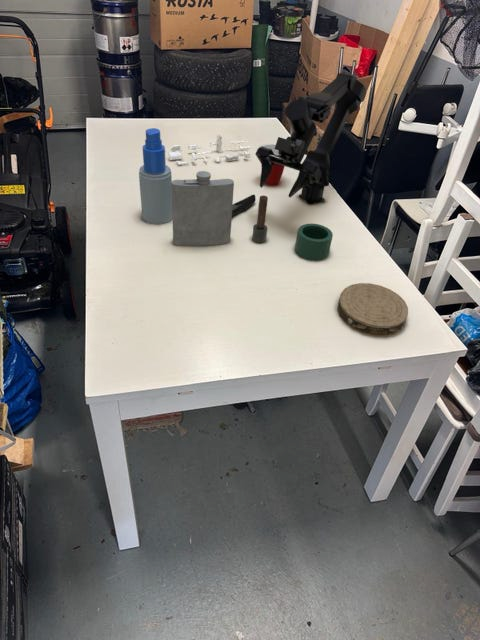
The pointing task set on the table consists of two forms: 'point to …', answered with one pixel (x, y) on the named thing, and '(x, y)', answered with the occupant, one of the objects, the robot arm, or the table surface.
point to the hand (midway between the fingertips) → (274, 191)
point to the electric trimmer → (243, 204)
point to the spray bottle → (155, 181)
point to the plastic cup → (274, 168)
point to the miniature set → (177, 155)
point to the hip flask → (202, 210)
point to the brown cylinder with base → (260, 222)
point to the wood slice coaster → (372, 309)
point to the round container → (313, 241)
